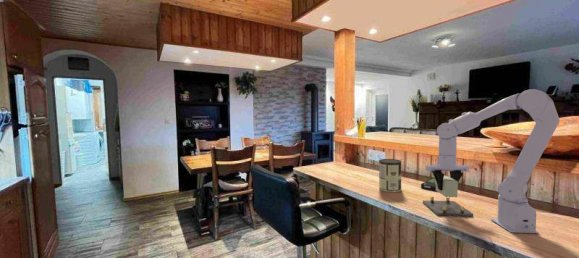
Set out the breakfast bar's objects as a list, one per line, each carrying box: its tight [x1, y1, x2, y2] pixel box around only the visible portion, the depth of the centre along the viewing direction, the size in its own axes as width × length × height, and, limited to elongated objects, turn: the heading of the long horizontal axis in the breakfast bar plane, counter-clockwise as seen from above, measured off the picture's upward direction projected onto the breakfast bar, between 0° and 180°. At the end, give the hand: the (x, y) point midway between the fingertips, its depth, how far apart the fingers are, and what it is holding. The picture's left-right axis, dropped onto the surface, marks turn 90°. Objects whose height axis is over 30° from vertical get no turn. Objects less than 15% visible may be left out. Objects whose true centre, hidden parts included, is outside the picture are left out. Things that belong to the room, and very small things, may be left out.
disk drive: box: [420, 178, 437, 192], centre depth 125 cm, size 10×3×15 cm
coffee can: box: [378, 158, 402, 193], centre depth 123 cm, size 10×10×14 cm
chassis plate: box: [422, 196, 474, 218], centre depth 97 cm, size 13×12×3 cm
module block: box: [435, 175, 459, 198], centre depth 97 cm, size 4×8×6 cm, turn 174°
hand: (446, 189), depth 97 cm, fingers closed on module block, 4 cm apart
